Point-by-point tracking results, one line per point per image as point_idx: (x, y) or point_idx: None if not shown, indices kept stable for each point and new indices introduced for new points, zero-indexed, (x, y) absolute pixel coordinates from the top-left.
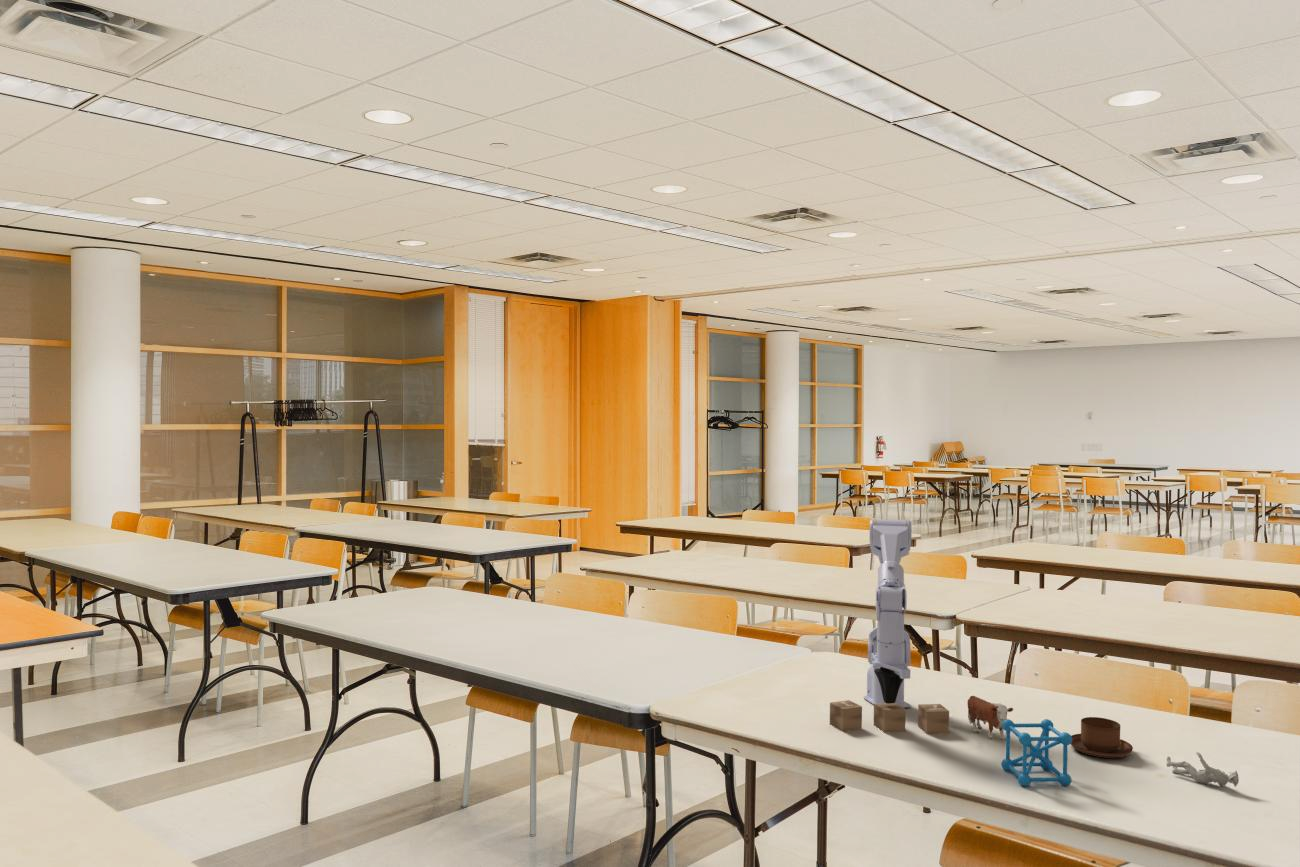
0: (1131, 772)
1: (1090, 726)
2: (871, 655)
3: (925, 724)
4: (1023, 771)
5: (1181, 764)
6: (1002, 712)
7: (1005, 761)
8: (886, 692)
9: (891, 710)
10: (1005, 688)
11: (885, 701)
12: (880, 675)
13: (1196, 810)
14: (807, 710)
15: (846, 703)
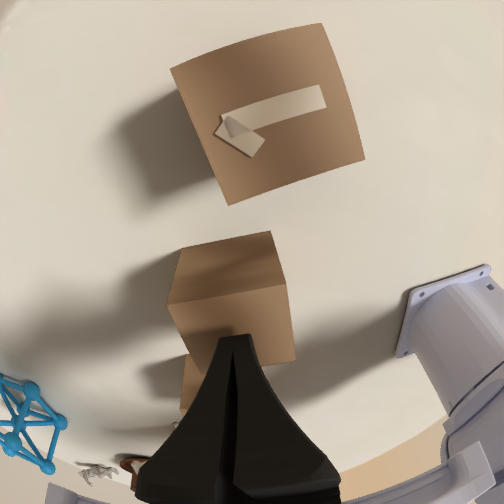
0: (97, 454)
1: (134, 487)
2: (487, 474)
3: (193, 373)
4: None
5: (99, 474)
6: (137, 474)
7: (24, 392)
8: (200, 386)
9: (178, 330)
10: (404, 437)
11: (227, 340)
12: (202, 474)
13: (34, 436)
14: (449, 46)
15: (289, 117)
